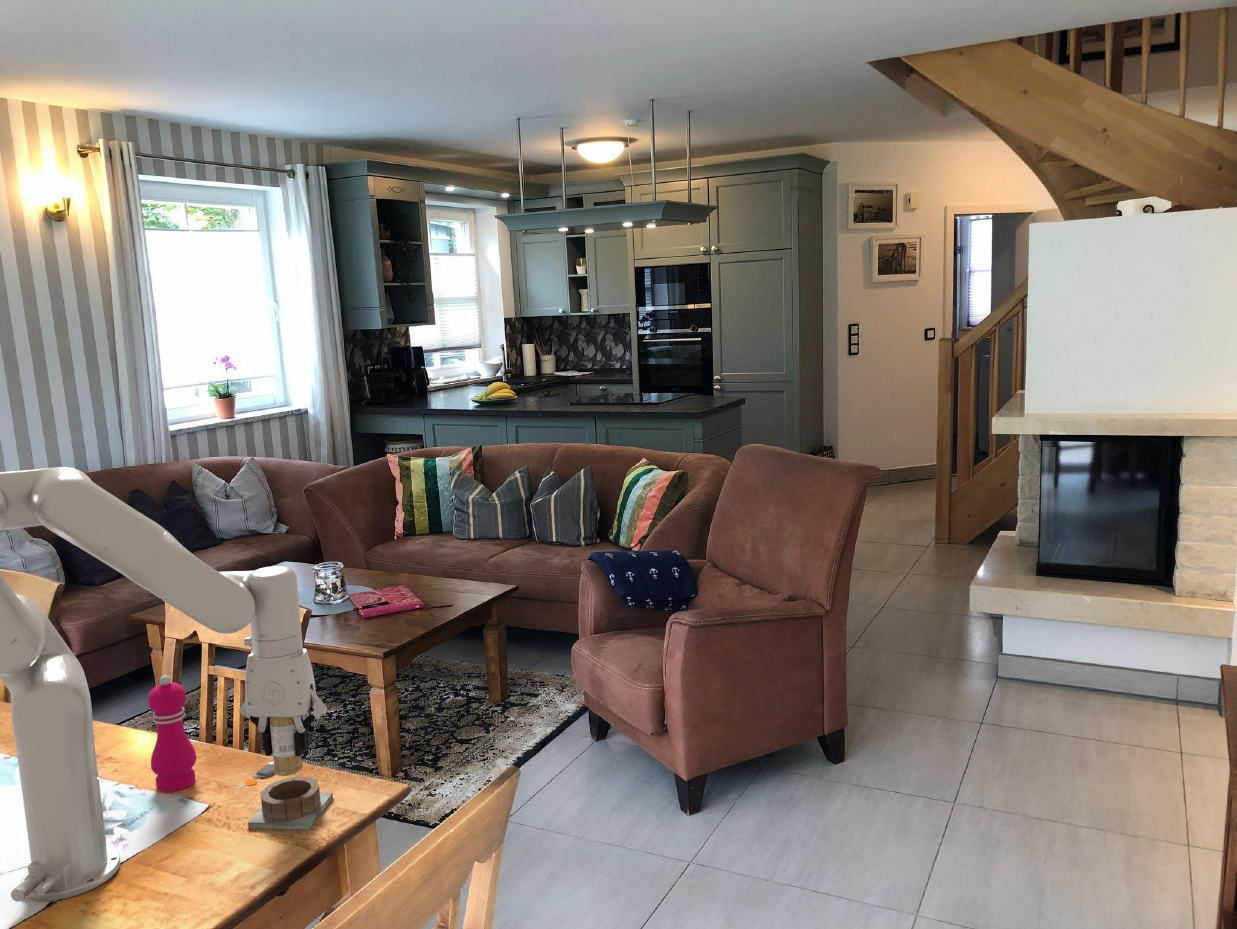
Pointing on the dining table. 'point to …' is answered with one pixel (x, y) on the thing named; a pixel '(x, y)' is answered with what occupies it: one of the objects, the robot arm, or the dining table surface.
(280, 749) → the sprinkles bottle
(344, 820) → the dining table surface
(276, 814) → the collar
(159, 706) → the pepper mill
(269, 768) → the key chain
